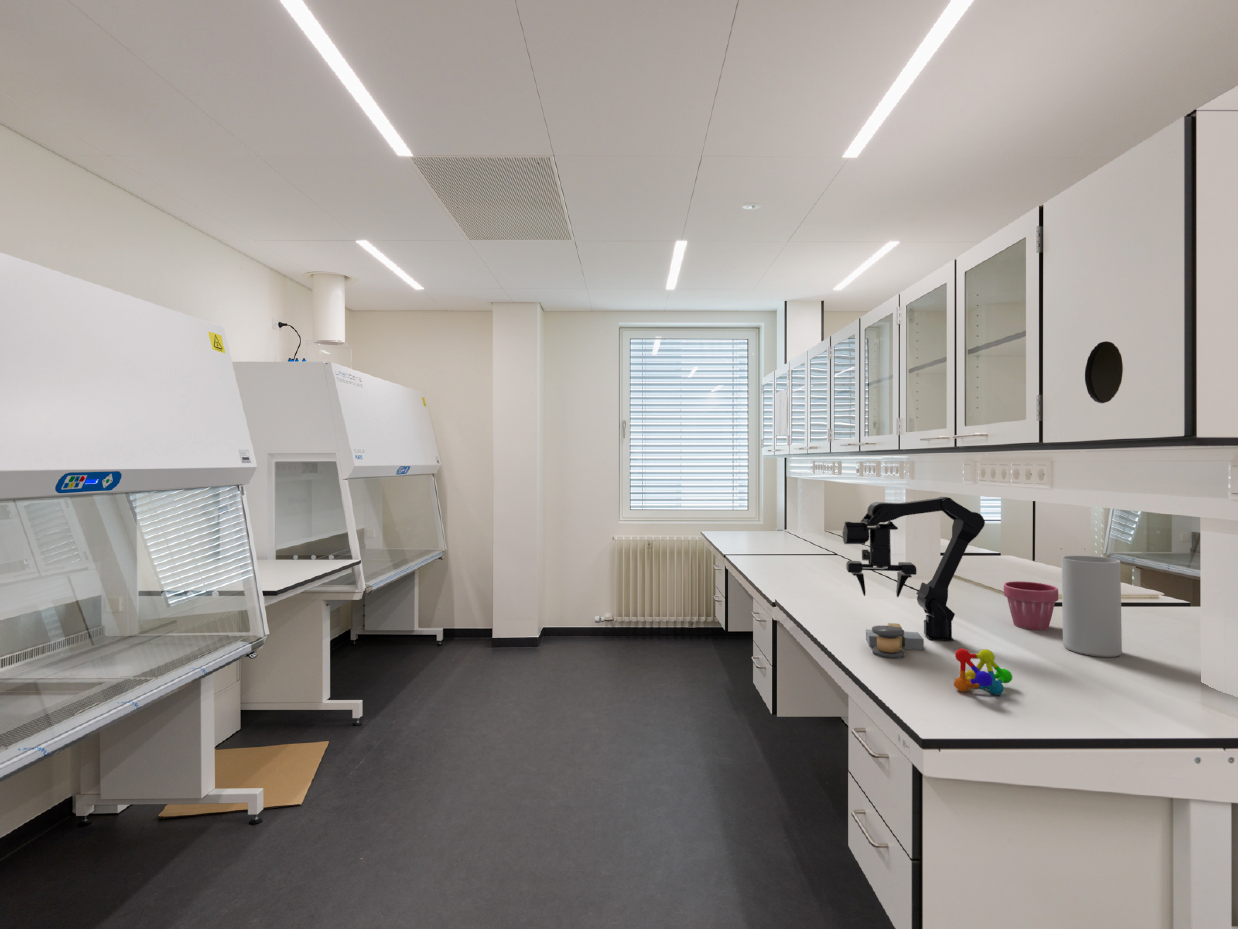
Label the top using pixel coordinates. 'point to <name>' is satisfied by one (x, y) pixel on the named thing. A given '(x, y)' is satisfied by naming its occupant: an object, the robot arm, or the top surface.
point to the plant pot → (1031, 603)
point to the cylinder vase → (1092, 605)
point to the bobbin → (888, 642)
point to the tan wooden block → (899, 636)
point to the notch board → (908, 640)
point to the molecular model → (980, 672)
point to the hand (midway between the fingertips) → (880, 596)
